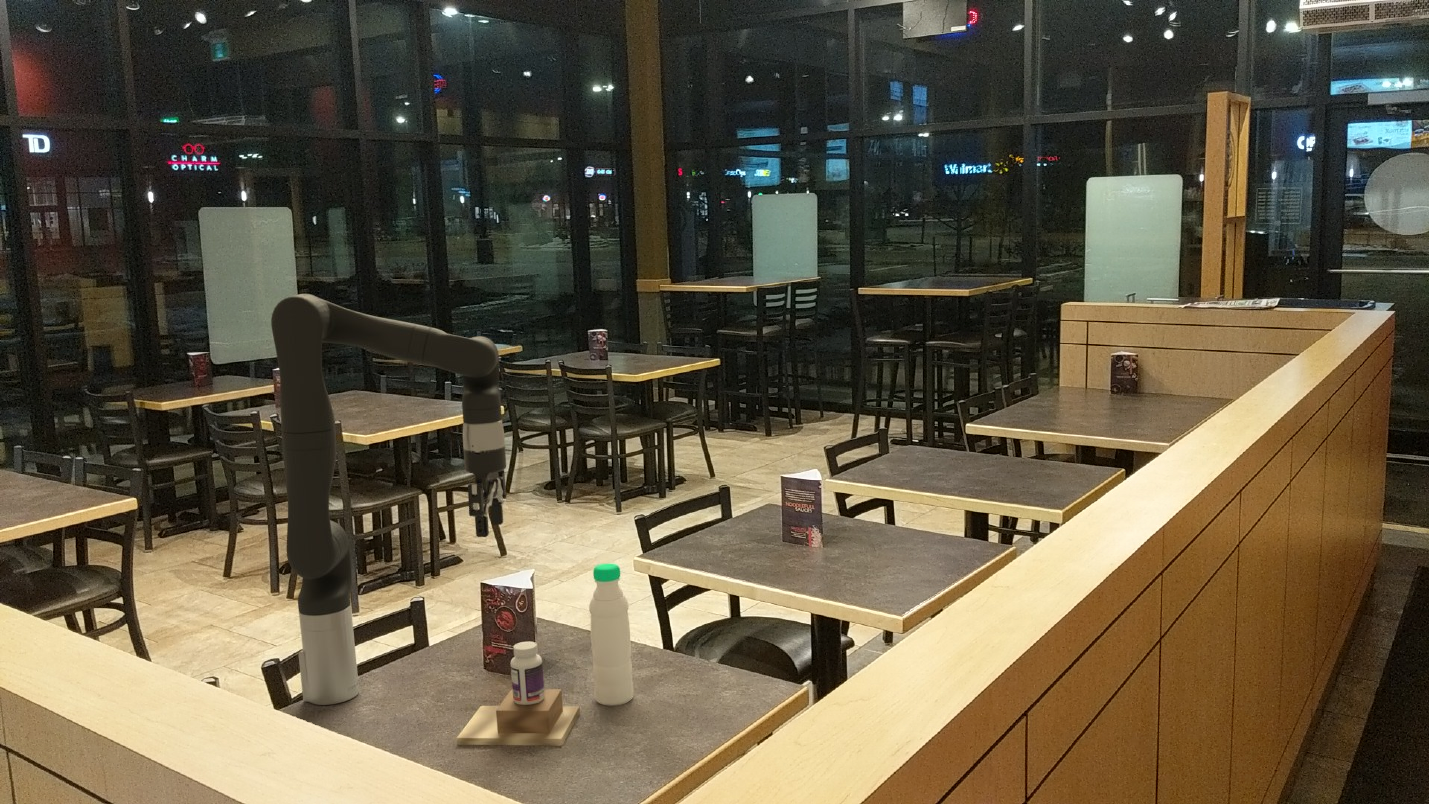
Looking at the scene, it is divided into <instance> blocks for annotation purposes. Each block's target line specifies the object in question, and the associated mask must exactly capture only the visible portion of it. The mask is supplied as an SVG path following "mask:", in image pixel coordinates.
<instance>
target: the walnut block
mask: <svg viewBox="0 0 1429 804" xmlns="http://www.w3.org/2000/svg"><path fill="white" fill-rule="evenodd" d="M544 690H545V697H544V699H543V700H542V701H541V702H539V703H536V704H532V705H519V704H517V703H515V702H514V700H513V690H512V689H510V691H509V692H508V694H507V695H506V696H505V697H504V699H503V700H502V702H501V703H500V705H498V706H499V707H498V708H497V710H496V717H497V730H498V733H550V732H551V730H552V729H553V727H554V725H555V724H556V722H557V720H558V719H559V717H560V715H561V713H562V712H563V694H562V689H560V688H559V689H558V688H557V689H553V688H552V689H551V688H544Z"/></svg>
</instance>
